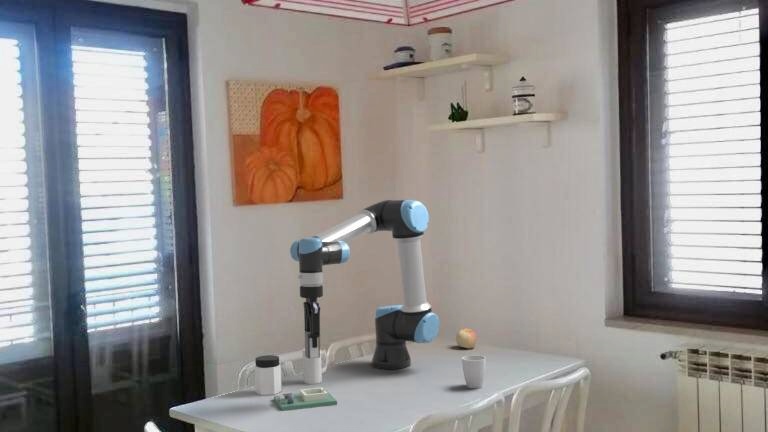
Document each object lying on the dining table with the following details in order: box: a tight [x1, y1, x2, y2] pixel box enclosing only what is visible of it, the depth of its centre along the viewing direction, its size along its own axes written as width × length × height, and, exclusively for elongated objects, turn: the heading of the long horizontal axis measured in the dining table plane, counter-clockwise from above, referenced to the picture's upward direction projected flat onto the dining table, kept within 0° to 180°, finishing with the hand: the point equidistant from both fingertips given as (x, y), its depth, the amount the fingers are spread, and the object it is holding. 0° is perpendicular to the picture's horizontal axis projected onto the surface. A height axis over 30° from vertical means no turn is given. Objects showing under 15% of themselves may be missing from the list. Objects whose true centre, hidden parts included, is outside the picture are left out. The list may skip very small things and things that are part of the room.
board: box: [273, 386, 338, 412], centre depth 267 cm, size 18×14×4 cm
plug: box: [304, 331, 322, 358], centre depth 267 cm, size 5×4×8 cm
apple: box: [455, 328, 478, 349], centre depth 344 cm, size 9×9×8 cm
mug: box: [302, 347, 329, 385], centre depth 294 cm, size 10×7×12 cm, turn 127°
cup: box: [461, 354, 487, 389], centre depth 282 cm, size 8×8×10 cm
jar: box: [253, 354, 282, 396], centre depth 280 cm, size 9×8×12 cm
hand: (312, 355), depth 268 cm, fingers closed on plug, 4 cm apart
